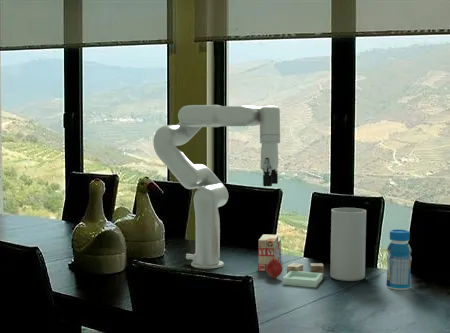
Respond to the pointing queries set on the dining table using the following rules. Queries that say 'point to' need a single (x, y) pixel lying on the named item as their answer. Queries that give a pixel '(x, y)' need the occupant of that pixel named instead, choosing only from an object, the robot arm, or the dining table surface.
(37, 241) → the dining table surface
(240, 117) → the robot arm
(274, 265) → the red round fruit
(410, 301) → the dining table surface
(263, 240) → the stack of blocks
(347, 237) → the cylinder vase
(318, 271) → the walnut block
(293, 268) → the beech block
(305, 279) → the dish
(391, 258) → the beverage bottle
